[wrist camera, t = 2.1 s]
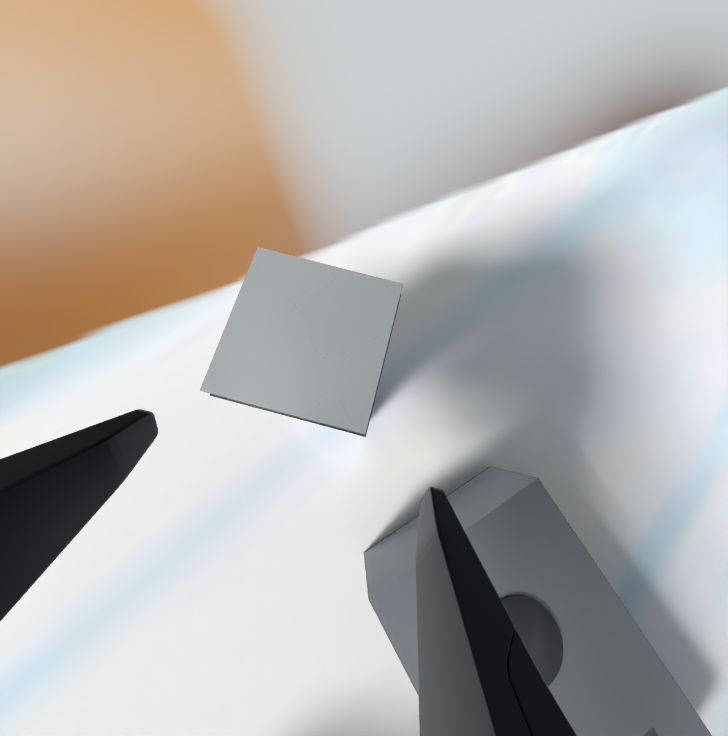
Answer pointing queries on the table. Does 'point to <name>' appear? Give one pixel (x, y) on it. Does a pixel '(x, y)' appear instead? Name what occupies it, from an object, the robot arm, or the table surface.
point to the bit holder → (542, 609)
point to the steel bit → (306, 341)
